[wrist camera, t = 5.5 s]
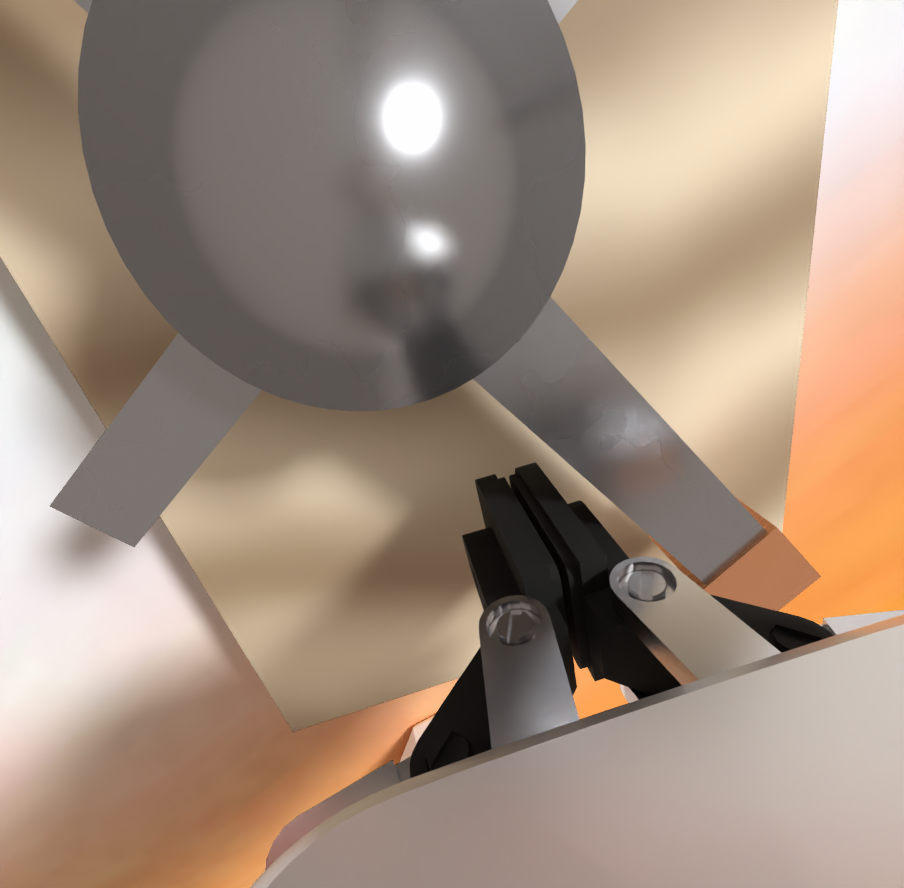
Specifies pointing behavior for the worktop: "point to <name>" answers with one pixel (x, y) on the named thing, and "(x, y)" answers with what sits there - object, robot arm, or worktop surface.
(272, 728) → the worktop surface
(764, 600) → the capstan
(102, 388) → the wooden flat board
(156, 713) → the worktop surface
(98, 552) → the worktop surface
